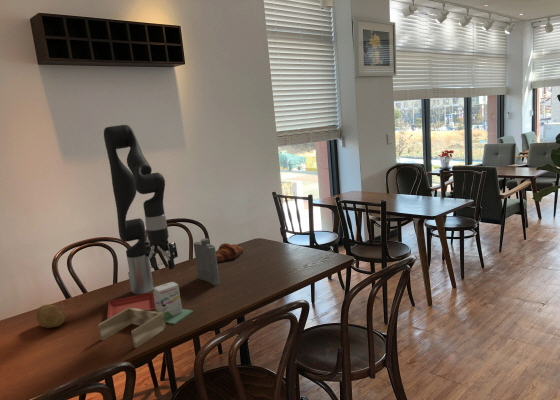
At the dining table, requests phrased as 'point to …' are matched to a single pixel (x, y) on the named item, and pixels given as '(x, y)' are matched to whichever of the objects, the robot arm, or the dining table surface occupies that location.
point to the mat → (178, 317)
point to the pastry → (228, 252)
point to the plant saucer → (132, 304)
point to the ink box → (168, 299)
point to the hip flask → (206, 262)
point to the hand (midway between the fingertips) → (163, 268)
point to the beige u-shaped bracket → (146, 319)
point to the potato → (50, 316)
